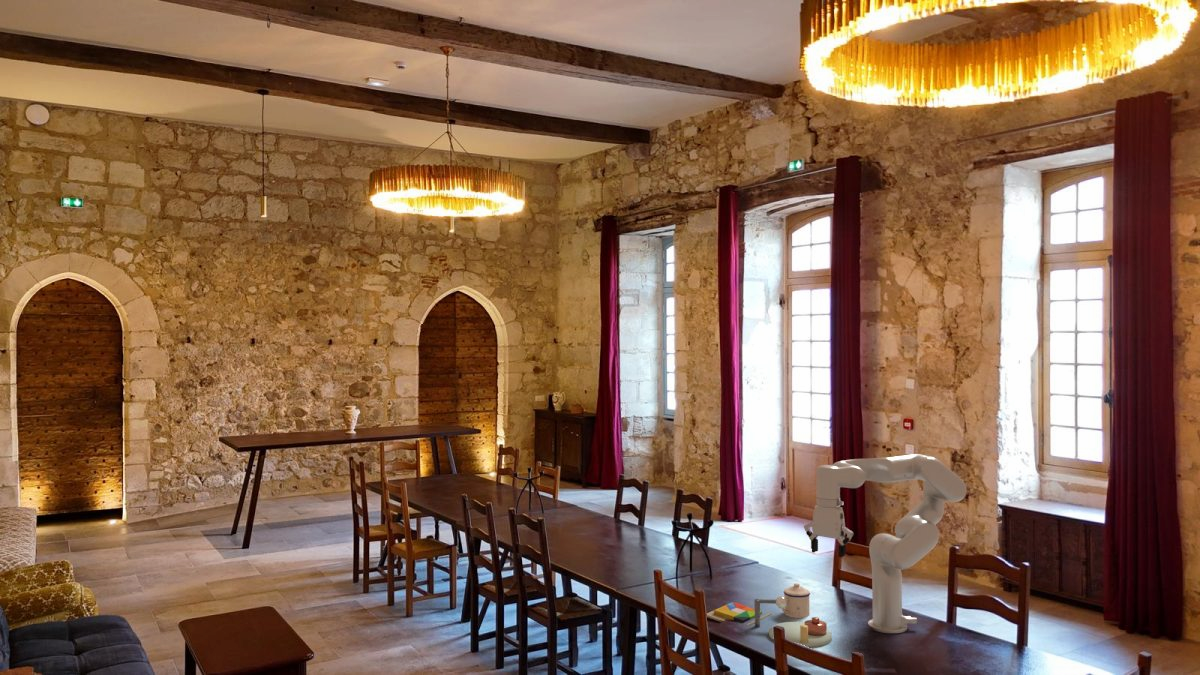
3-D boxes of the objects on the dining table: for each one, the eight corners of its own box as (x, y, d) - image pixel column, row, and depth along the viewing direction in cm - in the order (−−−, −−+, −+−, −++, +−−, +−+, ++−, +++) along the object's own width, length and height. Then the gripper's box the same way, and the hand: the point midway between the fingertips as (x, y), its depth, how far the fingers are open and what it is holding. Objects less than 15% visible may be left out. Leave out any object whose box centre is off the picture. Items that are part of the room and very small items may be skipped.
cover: (824, 628, 285) (824, 615, 285) (828, 636, 278) (828, 622, 278) (803, 628, 286) (803, 614, 286) (806, 636, 279) (806, 621, 279)
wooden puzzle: (747, 631, 292) (747, 621, 292) (700, 619, 305) (700, 609, 305) (773, 618, 306) (773, 608, 305) (727, 607, 318) (727, 597, 318)
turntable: (825, 626, 292) (825, 607, 292) (837, 648, 271) (836, 628, 271) (766, 625, 293) (765, 606, 293) (772, 647, 273) (772, 626, 273)
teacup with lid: (797, 610, 311) (796, 578, 311) (815, 617, 304) (815, 584, 304) (772, 616, 305) (772, 584, 305) (790, 624, 297) (790, 590, 297)
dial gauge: (785, 627, 294) (785, 594, 294) (787, 632, 289) (787, 598, 289) (749, 626, 295) (749, 593, 295) (750, 631, 290) (750, 598, 290)
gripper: (857, 504, 284) (857, 556, 284) (809, 497, 296) (809, 547, 296) (847, 507, 279) (847, 560, 279) (799, 501, 290) (799, 551, 290)
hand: (828, 554), depth 287 cm, fingers open, 9 cm apart
